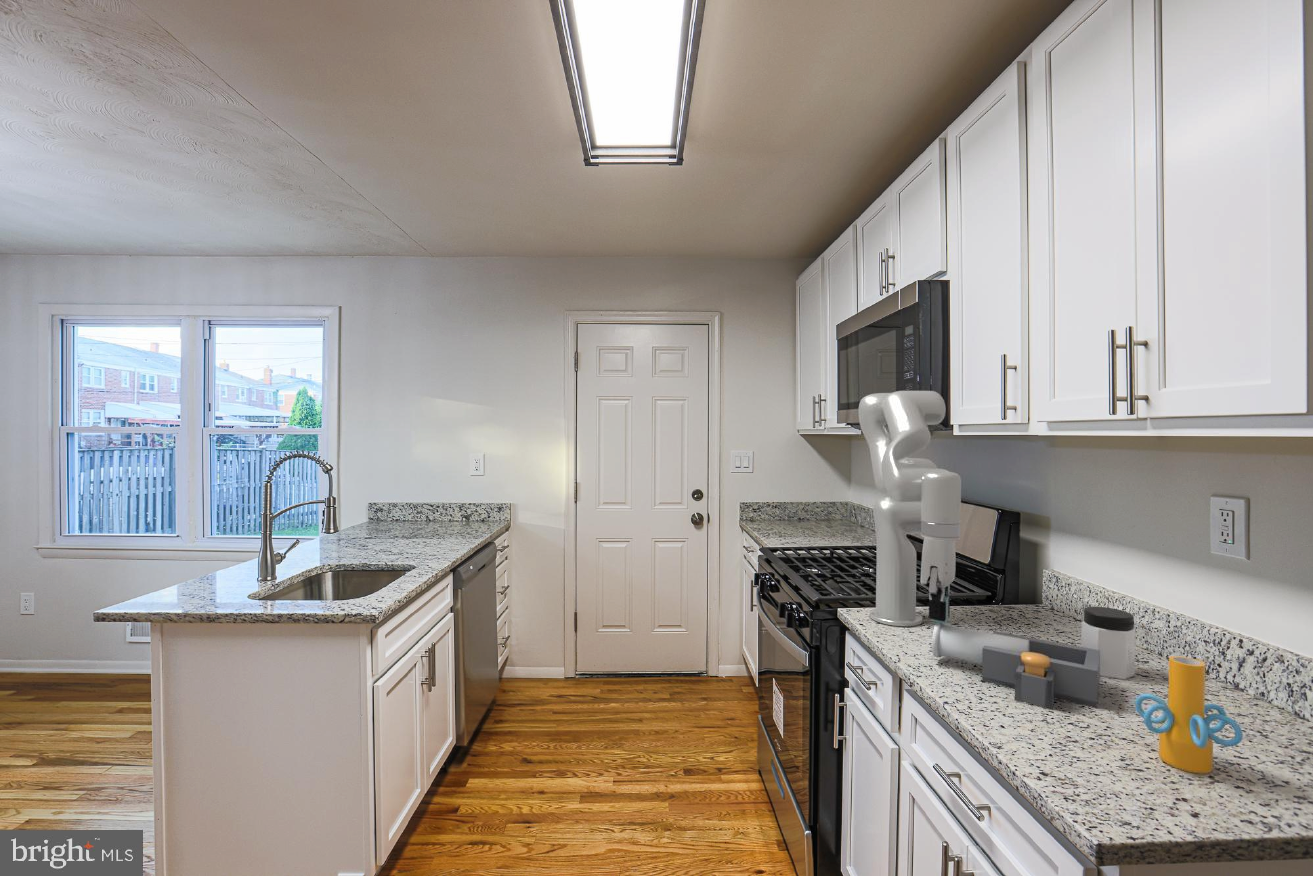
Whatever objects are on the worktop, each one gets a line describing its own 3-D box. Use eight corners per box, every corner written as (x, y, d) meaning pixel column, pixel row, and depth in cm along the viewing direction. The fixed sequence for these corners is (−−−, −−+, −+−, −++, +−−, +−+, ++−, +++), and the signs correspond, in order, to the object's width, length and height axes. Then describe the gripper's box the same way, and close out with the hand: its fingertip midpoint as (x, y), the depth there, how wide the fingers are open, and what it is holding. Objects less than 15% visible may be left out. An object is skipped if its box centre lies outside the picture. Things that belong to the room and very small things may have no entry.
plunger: (1022, 686, 114) (1022, 650, 114) (1050, 692, 111) (1051, 655, 111) (1019, 694, 111) (1019, 657, 111) (1047, 701, 108) (1048, 663, 108)
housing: (993, 662, 129) (994, 631, 129) (1099, 684, 118) (1100, 650, 118) (976, 691, 114) (976, 656, 114) (1095, 719, 103) (1096, 681, 103)
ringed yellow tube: (1251, 771, 88) (1253, 666, 88) (1231, 795, 82) (1233, 683, 82) (1146, 736, 98) (1148, 642, 98) (1121, 755, 92) (1123, 655, 92)
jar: (1122, 683, 119) (1123, 621, 119) (1074, 669, 126) (1075, 610, 125) (1140, 673, 124) (1141, 613, 124) (1094, 660, 130) (1095, 604, 130)
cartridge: (935, 650, 133) (936, 592, 133) (1029, 669, 123) (1030, 606, 122) (926, 659, 128) (927, 599, 127) (1024, 681, 117) (1025, 615, 117)
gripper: (931, 524, 138) (930, 606, 138) (910, 533, 125) (909, 623, 125) (968, 527, 133) (966, 612, 134) (951, 537, 121) (949, 631, 121)
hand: (939, 617), depth 129 cm, fingers closed on cartridge, 2 cm apart
